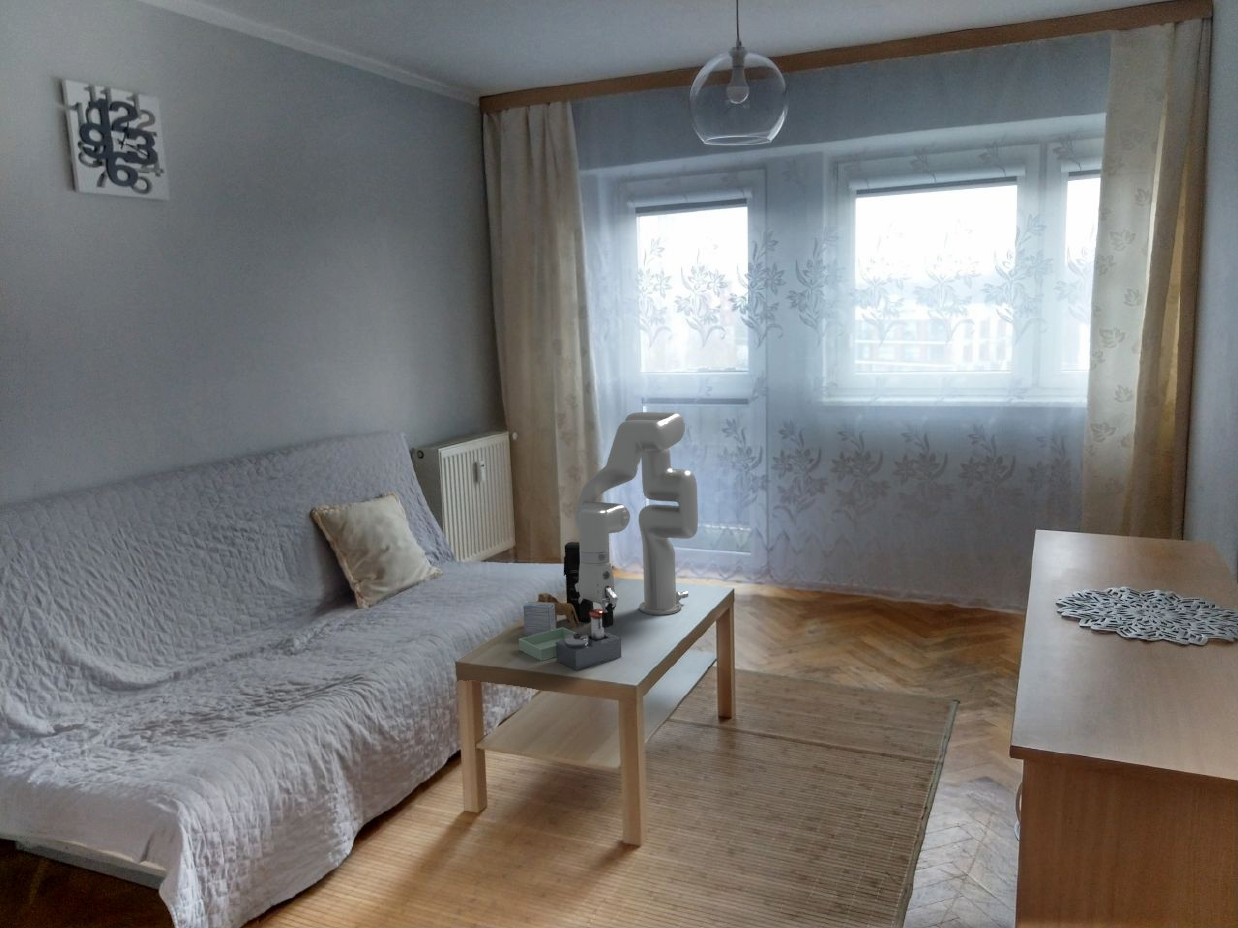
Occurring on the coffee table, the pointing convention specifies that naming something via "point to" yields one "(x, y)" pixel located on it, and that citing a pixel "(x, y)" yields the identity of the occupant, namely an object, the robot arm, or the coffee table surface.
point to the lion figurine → (560, 608)
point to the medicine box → (539, 617)
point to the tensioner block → (587, 650)
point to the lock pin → (596, 624)
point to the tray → (543, 643)
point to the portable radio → (573, 577)
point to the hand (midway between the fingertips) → (596, 622)
